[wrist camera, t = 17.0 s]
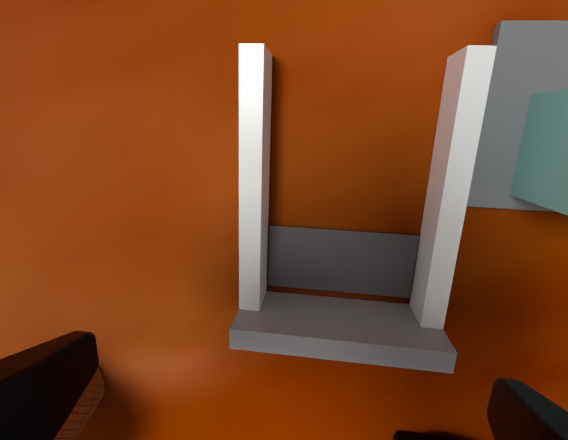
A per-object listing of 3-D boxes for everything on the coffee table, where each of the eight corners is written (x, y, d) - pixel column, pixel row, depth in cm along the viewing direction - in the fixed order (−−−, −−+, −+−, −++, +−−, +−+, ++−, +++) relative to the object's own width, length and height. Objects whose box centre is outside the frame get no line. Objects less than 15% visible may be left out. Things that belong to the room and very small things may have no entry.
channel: (426, 322, 21) (452, 373, 16) (248, 305, 22) (229, 348, 18) (472, 57, 17) (523, 32, 12) (250, 55, 18) (226, 31, 13)
